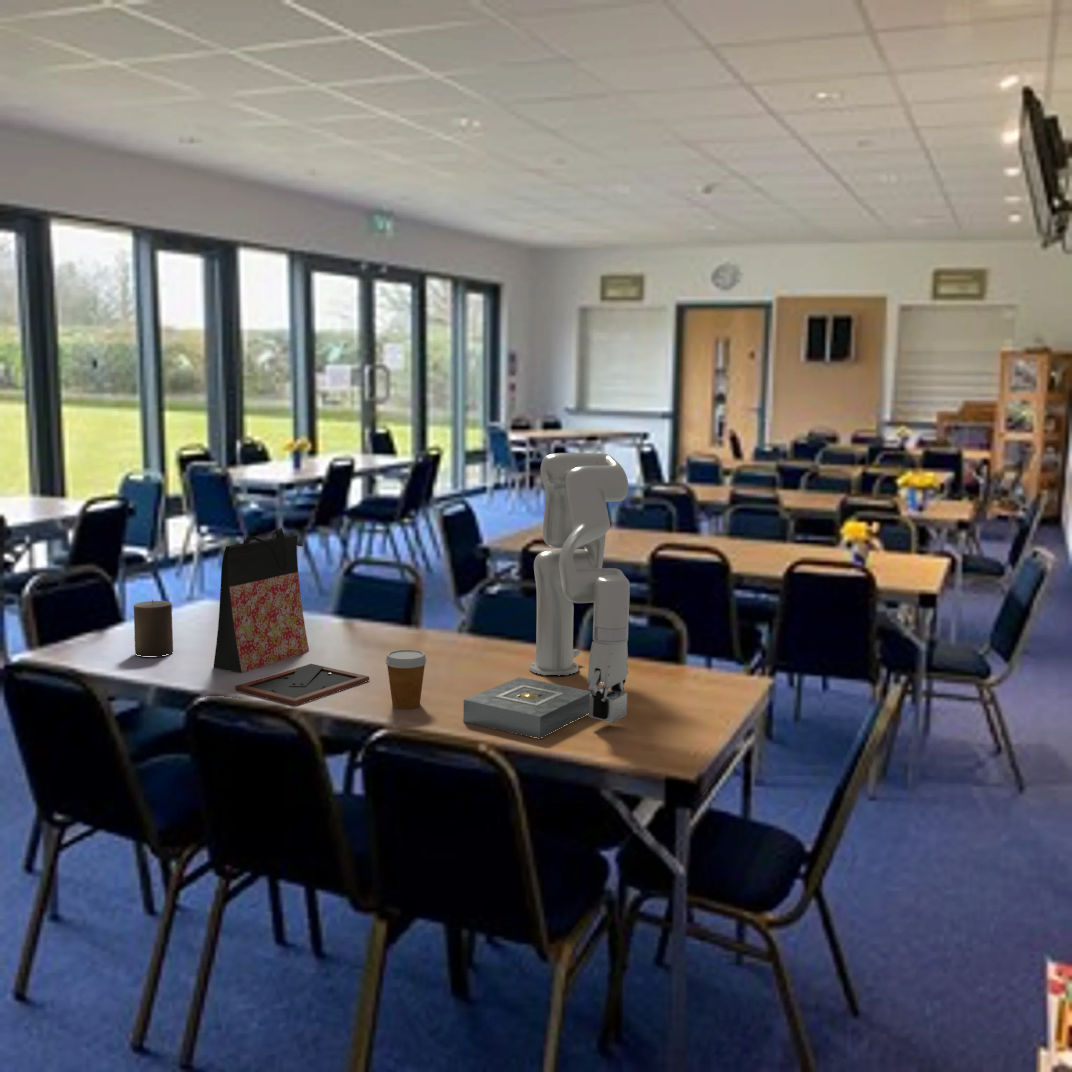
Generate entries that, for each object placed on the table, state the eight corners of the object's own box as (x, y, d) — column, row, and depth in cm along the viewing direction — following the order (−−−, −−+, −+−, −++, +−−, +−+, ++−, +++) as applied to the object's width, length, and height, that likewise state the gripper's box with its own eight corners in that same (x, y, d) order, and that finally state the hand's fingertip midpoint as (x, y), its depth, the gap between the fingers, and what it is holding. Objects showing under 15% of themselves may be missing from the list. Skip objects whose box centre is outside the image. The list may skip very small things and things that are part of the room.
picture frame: (311, 670, 270) (235, 693, 249) (311, 662, 269) (235, 685, 249) (369, 683, 259) (294, 708, 238) (369, 675, 259) (294, 699, 238)
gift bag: (250, 674, 263) (246, 537, 257) (208, 667, 269) (204, 532, 264) (325, 649, 288) (323, 524, 283) (285, 643, 295) (283, 520, 290)
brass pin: (526, 711, 235) (526, 691, 235) (541, 715, 233) (541, 694, 232) (516, 716, 232) (516, 695, 231) (531, 719, 230) (531, 698, 229)
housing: (602, 709, 231) (603, 687, 230) (626, 715, 227) (627, 692, 226) (588, 716, 226) (589, 694, 225) (612, 722, 222) (613, 699, 222)
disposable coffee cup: (377, 704, 240) (376, 653, 239) (409, 696, 247) (409, 646, 245) (402, 713, 234) (402, 661, 232) (435, 705, 240) (435, 654, 238)
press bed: (519, 697, 247) (519, 676, 246) (592, 713, 236) (593, 690, 236) (463, 721, 229) (463, 698, 228) (539, 739, 218) (540, 715, 217)
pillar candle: (165, 658, 276) (163, 603, 274) (128, 657, 276) (127, 602, 274) (178, 649, 286) (177, 596, 284) (143, 648, 286) (141, 595, 284)
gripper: (614, 622, 233) (611, 699, 236) (574, 638, 218) (572, 720, 221) (644, 627, 229) (641, 706, 232) (606, 644, 214) (603, 728, 217)
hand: (607, 712), depth 226 cm, fingers closed on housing, 6 cm apart
